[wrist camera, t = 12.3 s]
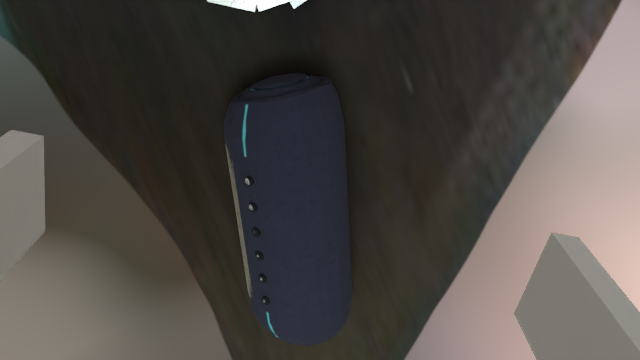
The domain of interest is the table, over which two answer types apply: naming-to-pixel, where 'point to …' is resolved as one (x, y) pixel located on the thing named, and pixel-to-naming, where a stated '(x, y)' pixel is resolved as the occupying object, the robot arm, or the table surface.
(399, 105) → the table surface
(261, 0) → the collar
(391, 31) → the table surface
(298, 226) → the portable speaker
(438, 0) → the table surface
